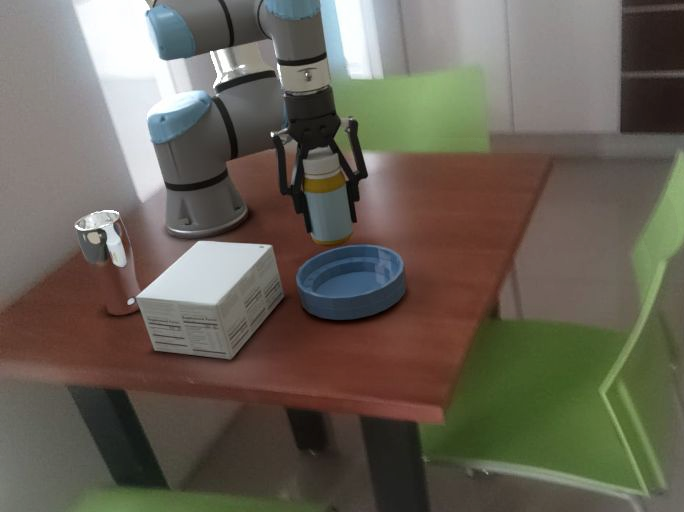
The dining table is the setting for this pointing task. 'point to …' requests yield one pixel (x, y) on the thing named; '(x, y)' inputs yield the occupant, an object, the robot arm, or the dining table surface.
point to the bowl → (351, 282)
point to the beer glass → (110, 259)
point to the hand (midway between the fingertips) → (330, 224)
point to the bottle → (326, 198)
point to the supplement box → (211, 299)
